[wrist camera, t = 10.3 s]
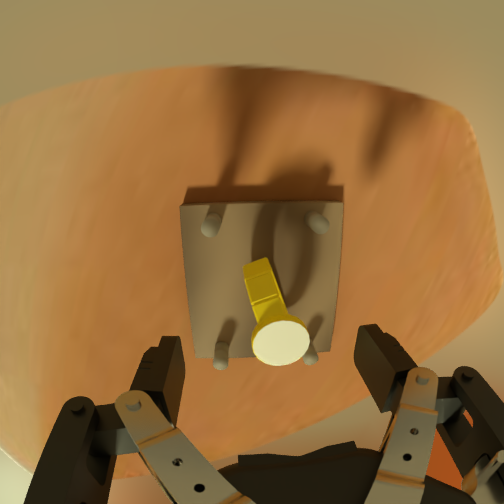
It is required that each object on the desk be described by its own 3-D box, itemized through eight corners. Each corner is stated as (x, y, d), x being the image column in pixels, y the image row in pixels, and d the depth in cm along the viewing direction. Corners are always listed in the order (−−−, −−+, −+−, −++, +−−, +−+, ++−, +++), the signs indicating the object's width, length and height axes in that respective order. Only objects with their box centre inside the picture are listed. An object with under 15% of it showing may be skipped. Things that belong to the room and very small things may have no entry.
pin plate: (197, 350, 21) (192, 375, 18) (182, 203, 18) (172, 211, 15) (326, 343, 22) (337, 367, 19) (338, 200, 18) (355, 207, 16)
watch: (231, 256, 18) (228, 299, 12) (273, 240, 18) (289, 277, 12) (263, 333, 20) (272, 392, 14) (301, 319, 20) (322, 375, 14)
